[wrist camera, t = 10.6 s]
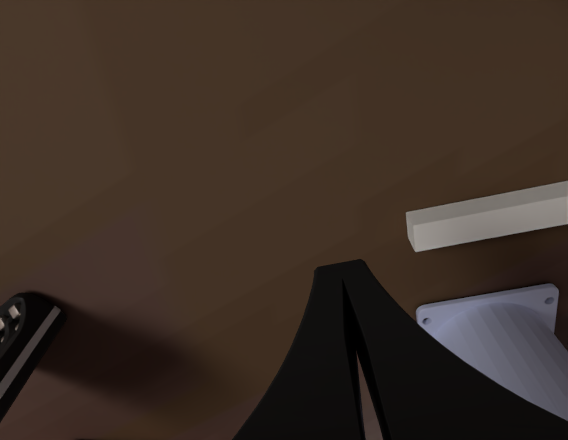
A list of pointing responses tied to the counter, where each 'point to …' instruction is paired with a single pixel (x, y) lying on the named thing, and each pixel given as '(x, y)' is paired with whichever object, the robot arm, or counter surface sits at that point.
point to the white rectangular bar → (488, 217)
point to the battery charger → (24, 341)
